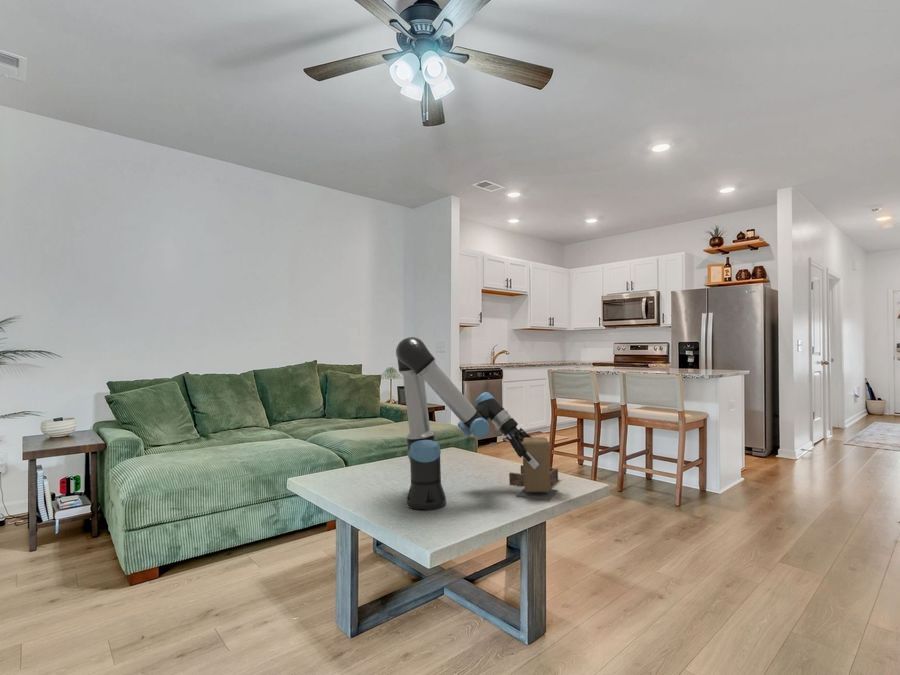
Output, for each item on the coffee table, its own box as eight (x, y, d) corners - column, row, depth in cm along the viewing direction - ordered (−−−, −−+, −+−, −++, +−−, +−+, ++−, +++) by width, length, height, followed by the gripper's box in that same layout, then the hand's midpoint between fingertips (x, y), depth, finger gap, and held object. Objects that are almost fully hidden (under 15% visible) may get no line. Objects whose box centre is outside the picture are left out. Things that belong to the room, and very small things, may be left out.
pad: (516, 497, 188) (516, 495, 188) (526, 488, 200) (526, 486, 200) (548, 501, 182) (548, 499, 182) (557, 491, 194) (557, 489, 194)
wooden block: (548, 485, 195) (546, 436, 196) (550, 493, 185) (549, 441, 186) (523, 485, 196) (522, 436, 197) (524, 492, 186) (523, 441, 187)
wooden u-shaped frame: (509, 484, 205) (509, 473, 205) (521, 476, 219) (521, 465, 219) (547, 489, 197) (547, 477, 197) (558, 479, 211) (557, 468, 211)
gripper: (499, 421, 186) (538, 463, 178) (521, 413, 207) (556, 451, 200) (487, 434, 188) (525, 476, 180) (510, 424, 210) (544, 462, 202)
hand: (541, 463), depth 190 cm, fingers closed on wooden block, 12 cm apart
